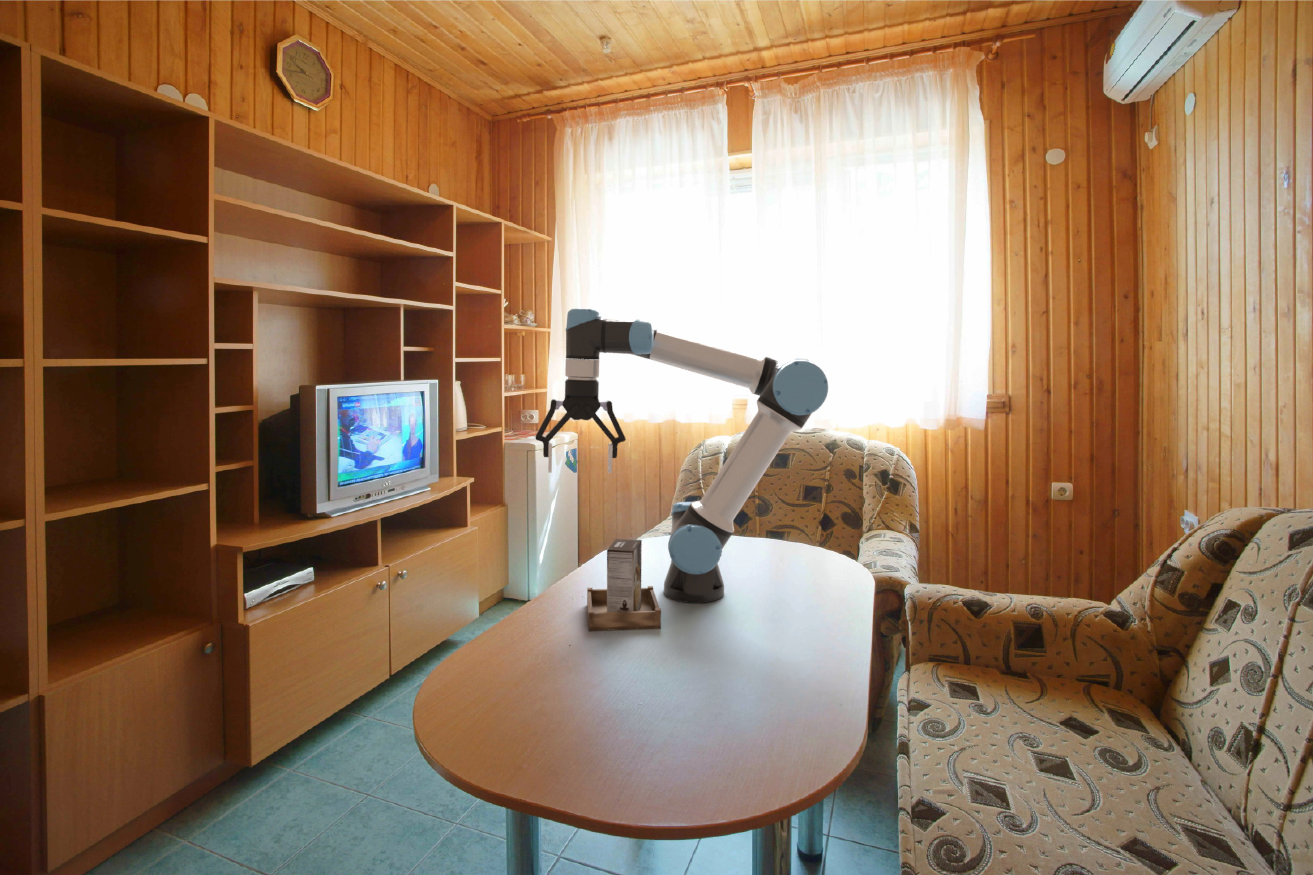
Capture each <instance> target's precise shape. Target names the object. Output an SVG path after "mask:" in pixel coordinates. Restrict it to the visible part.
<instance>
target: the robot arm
mask: <svg viewBox="0 0 1313 875" xmlns="http://www.w3.org/2000/svg"><path fill="white" fill-rule="evenodd" d="M566 317H567V318H566V325H565V326H566V327H565V370H564V371H565V373H564V374H565V377H567V379H566V380H564V382H565V383H564V400H557V399H555V398H552V399H551V400H550V406H549V410H548V411H547V413H546V415H545V418H544V420H543V421H542V423H541V425H540V427H539V428H538V431H537V432H536V434H535V440H536V441H539V442H541V443H542V444H543V447H542V448H543V452H542V455H543V457H544V458H547V459H548V462H547V463H548V464H547V465H548V466H547V468H548V469H547V472H548V473H552V469H553V468H552V464H553V442H552V441H551V440H552V439H553V438H554V437H555V436H556V435H557V434H558V432H559V431H561V429H562V428H563V427H564V426H565V424H566V423H567V422H568V421H570V419H572V420H574V421H580V420H583V421H589V420H593V421H594V422H595V423H596V425H597V426H598V427H599V428H600V429H601V431H602V432H603V434H605V435H606V436H607V438H608V439H609V440H610V442H609V443H608V446H607V448H608V449H607V473H608V474H613V459H617V457H618V445H619V444H620V443H623V442H625V441H626V440H627V439H626V436H625V434H624V432H623V430H622V428H621V425H620V424H619V421H618V419H617V417H616V415H615V412H614V410H613V409H614V408H613V402H612V401H611V400H606V401H600V400H599V399H600V398H599V392H600V391H599V390H600V389H599V385H600V384H599V383H600V382H599V381H598V378H599V377H600V353H603V354H607V353H608V354H626V355H634V356H636V357H640V358H643V359H646V360H651V361H654V362H658V363H661V364H665V365H668V366H671V367H675V368H678V369H681V370H684V371H688V372H691V373H695V374H699V375H702V376H705V377H710V378H713V379H716V380H719V381H724V382H725V383H729V384H734V385H736V386H740V387H744V388H748V389H749V391H750V392H751V394H752V395H756V396H759V397H758V398H757V400H756V405H757V413H756V414H755V416H754V417H753V419H752V420H751V421H750V424H749V425H748V426H747V428H746V430H745V431H744V433H743V434H742V436H741V437H740V438H739V441H738V442H737V443H736V445H735V447H734V448H733V450H732V451H731V453H730V454H729V456H728V457H727V459H726V460H725V462H724V464H722V467H721V468H720V470H719V472H718V473H717V475H716V476H715V477H714V479H713V481H712V483H711V484H710V485H709V487H708V488H707V490H706V491H705V493H704V494H703V496H702V498H701V499H700V500H697V501H696V500H695V501H679V502H676V503H674V504H673V505H672V509H671V512H670V514H671V529H670V530H671V531H670V536H669V539H668V544H667V547H668V548H667V550H668V553H669V557H670V560H671V561H670V564H669V567H668V570H667V572H666V573H667V574H666V575H665V579H664V584H663V593H664V595H665V596H666V597H667V598H670V599H672V600H674V601H677V602H684V603H691V604H692V603H697V604H698V603H710V602H714V601H717V600H720V599H721V598H723V597H724V595H725V584H724V580H723V576H722V574H721V570H720V566H719V562H720V559H721V557H722V554H723V553H722V552H723V548H725V546H726V545H727V543H728V541H729V539H730V538H731V536H732V535H733V534H734V532H735V527H734V526H735V525H734V520H735V518H736V517H737V515H738V513H740V511H741V509H742V507H743V506H744V504H745V503H746V502H747V500H748V498H749V497H750V495H751V494H752V492H753V491H754V489H755V488H756V486H757V485H758V483H759V482H760V480H762V477H763V475H764V474H765V473H766V472H767V469H768V468H769V467H770V465H771V463H772V462H773V461H774V459H775V458H776V455H778V453H779V451H780V450H781V448H782V446H783V445H784V444H785V442H786V440H788V437H789V436H790V434H791V433H793V432H796V431H800V430H802V429H803V427H804V426H805V424H806V423H807V422H808V420H809V418H810V417H811V415H812V414H813V413H815V412H816V411H818V410H819V409H820V408H821V406H822V405H824V402H825V401H826V400H827V398H828V397H827V396H828V392H829V382H828V378H827V375H826V374H825V372H824V371H823V369H822V368H821V367H820V366H818V365H817V364H816V363H815V362H813V361H810V360H809V359H805V358H793V359H792V358H791V359H790V358H789V359H787V358H786V359H785V358H777V357H773V356H768V355H765V354H763V355H761V356H759V357H756V356H753V355H749V354H746V353H743V352H739V351H735V350H732V349H728V348H726V347H725V348H724V347H721V346H718V345H715V344H711V343H707V342H704V341H700V340H698V339H694V338H691V337H686V336H683V335H680V334H676V333H672V332H669V331H665V330H662V329H658V328H655V327H654V323H653V321H651V320H643V319H639V318H637V319H608V318H602V316H601V311H600V310H598V309H593V308H571V309H570V310H569V311H567V316H566ZM561 406H562V407H563V409H564V410H565V411H566V413H564V414H563V416H562V417H561V418H560V420H559V421H558V422H556V424H554V426H553V428H552V429H550V431H549V432H548V433H547V434H546V435H544V433H545V432H546V431H547V427H548V426H549V424H550V422H551V420H552V419H553V417H554V414H555V412H556V411H557V410H559V409H560V407H561ZM600 408H602V409H603V410H604V411H605V412H606V413H607V415H608V417H609V420H610V422H611V423H612V425H613V428H614V430H615V433H616V435H617V437H616V436H614V434H613V433H612V432H611V430H609V428H608V427H607V425H606V424H605V423H604V422H603V421H602V419H600V417H599V416H598V415H597V412H598V410H600ZM550 441H551V442H550Z"/></svg>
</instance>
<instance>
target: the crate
mask: <svg viewBox="0 0 1313 875" xmlns="http://www.w3.org/2000/svg"><path fill="white" fill-rule="evenodd" d="M586 592H587V593H586V594H587V595H586V600H587V602H586V603H587V604H586V607H587V623H588V624H587V627H588V632H605V631H628V630H629V631H630V630H632V631H634V630H636V631H637V630H658V629H659V630H660V629H661V628H662V626H661V625H662V620H661V618H662V610H661V608H660V605H659V603H658V602H659V601H658V599H657V597H656V594H655V591H654V586H653V585H649V586H648V585H647V587H641V607H640V609H639V611H629V612H607V588H595V589H594V588H593V587H587V590H586Z"/></svg>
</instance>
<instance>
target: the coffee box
mask: <svg viewBox="0 0 1313 875" xmlns="http://www.w3.org/2000/svg"><path fill="white" fill-rule="evenodd" d="M642 540H643V539H628V538H627V539H624V538H623V539H622V538H621V539H620V538H615V539H614V541H613V542H612V543H611V545H609V547H608V548H607V549H606V589H607V612H629V611H639V609H640V607H641V588H642V548H643V547H642V546H643V544H642Z"/></svg>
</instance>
